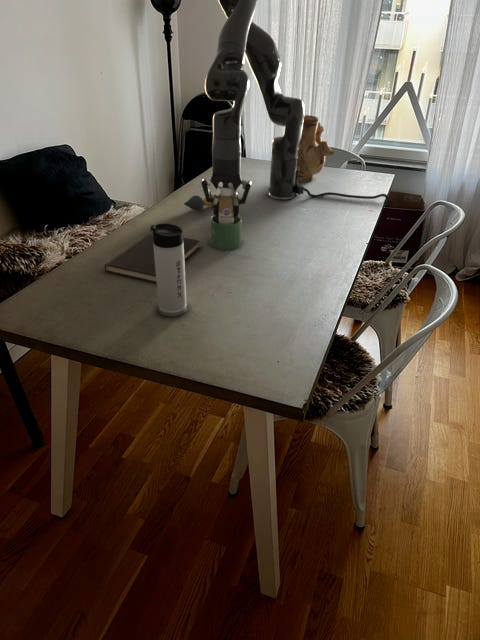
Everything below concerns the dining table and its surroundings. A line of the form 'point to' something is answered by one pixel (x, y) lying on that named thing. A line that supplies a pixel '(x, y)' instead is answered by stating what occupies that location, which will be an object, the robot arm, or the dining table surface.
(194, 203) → the paintbrush
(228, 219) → the sprinkles bottle
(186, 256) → the hardcover book
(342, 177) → the dining table surface
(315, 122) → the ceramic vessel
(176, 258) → the travel mug
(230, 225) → the cup
